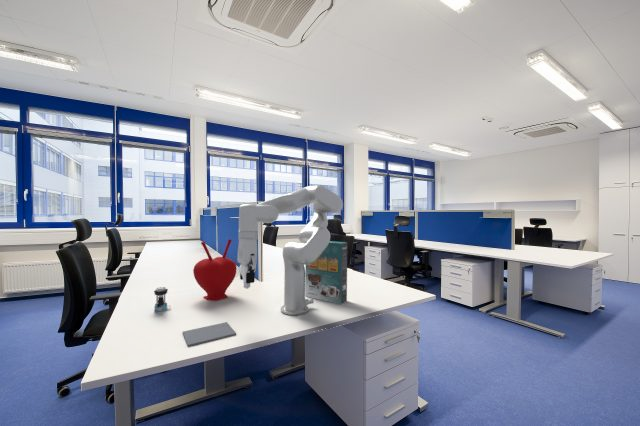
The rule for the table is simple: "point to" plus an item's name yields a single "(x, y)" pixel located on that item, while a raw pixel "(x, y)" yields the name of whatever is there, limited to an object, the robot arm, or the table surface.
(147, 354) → the table surface
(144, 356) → the table surface
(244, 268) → the lightbulb
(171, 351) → the table surface
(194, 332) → the desk mat
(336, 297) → the cake mix box
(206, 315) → the table surface
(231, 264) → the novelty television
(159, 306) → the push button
